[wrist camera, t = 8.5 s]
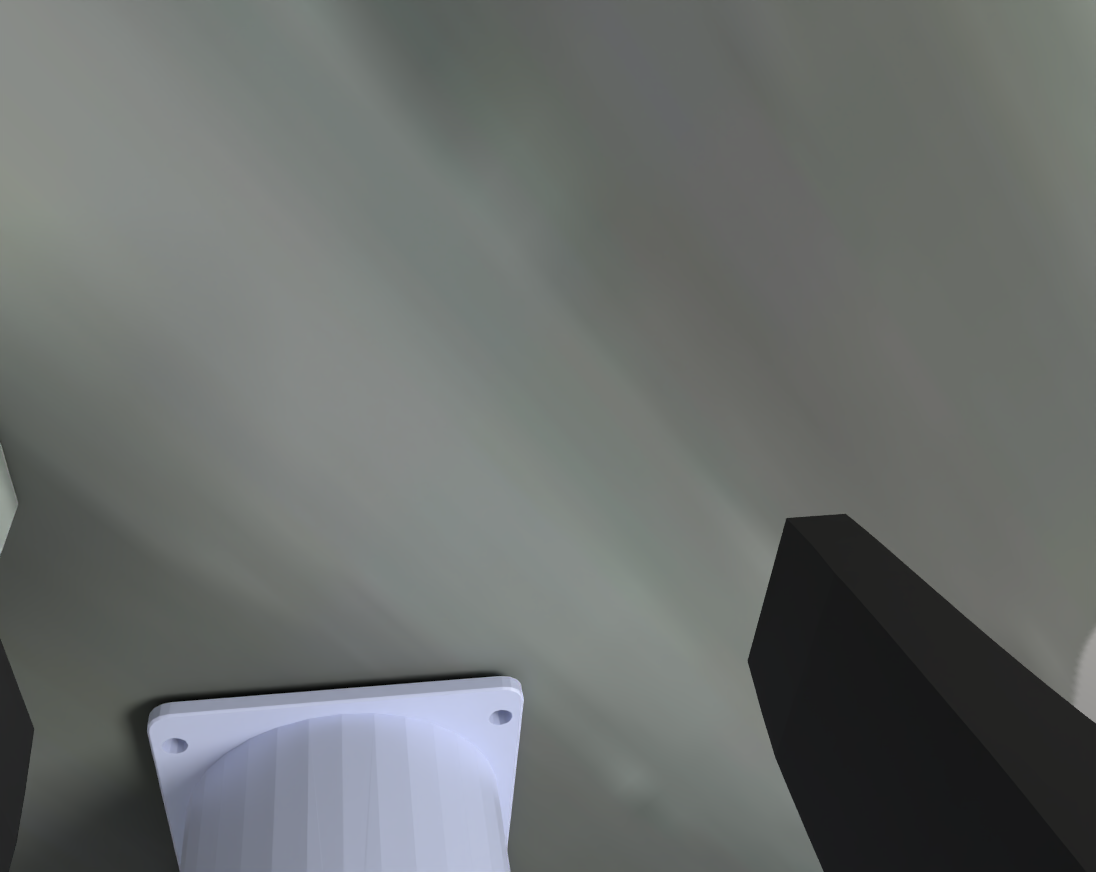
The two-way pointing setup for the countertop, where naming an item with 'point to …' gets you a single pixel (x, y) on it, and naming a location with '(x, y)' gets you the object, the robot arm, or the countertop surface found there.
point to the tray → (6, 500)
